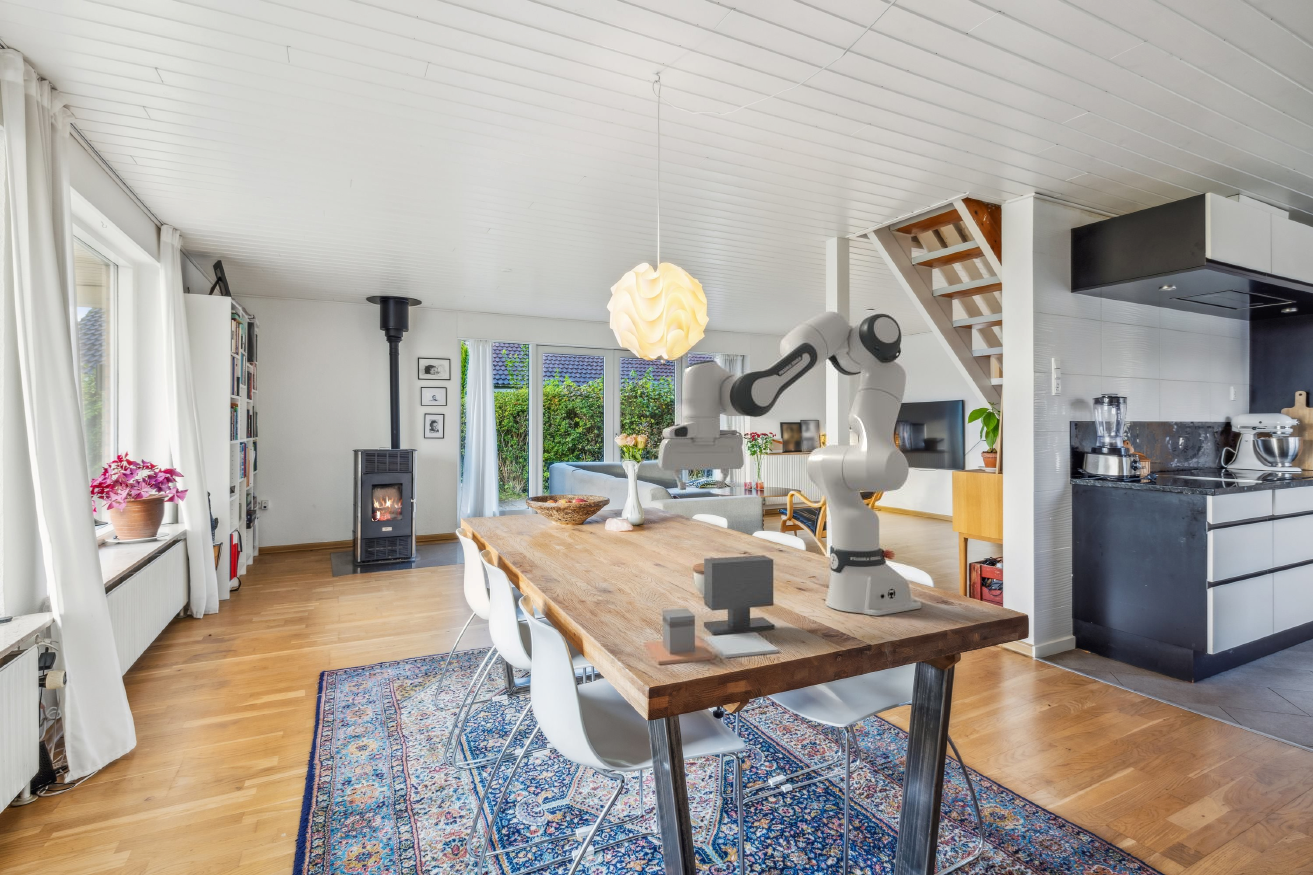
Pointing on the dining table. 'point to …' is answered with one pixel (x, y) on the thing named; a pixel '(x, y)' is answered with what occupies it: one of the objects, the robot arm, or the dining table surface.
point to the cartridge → (678, 631)
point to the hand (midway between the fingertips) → (701, 489)
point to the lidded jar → (699, 577)
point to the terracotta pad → (665, 658)
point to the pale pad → (741, 645)
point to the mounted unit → (738, 592)
